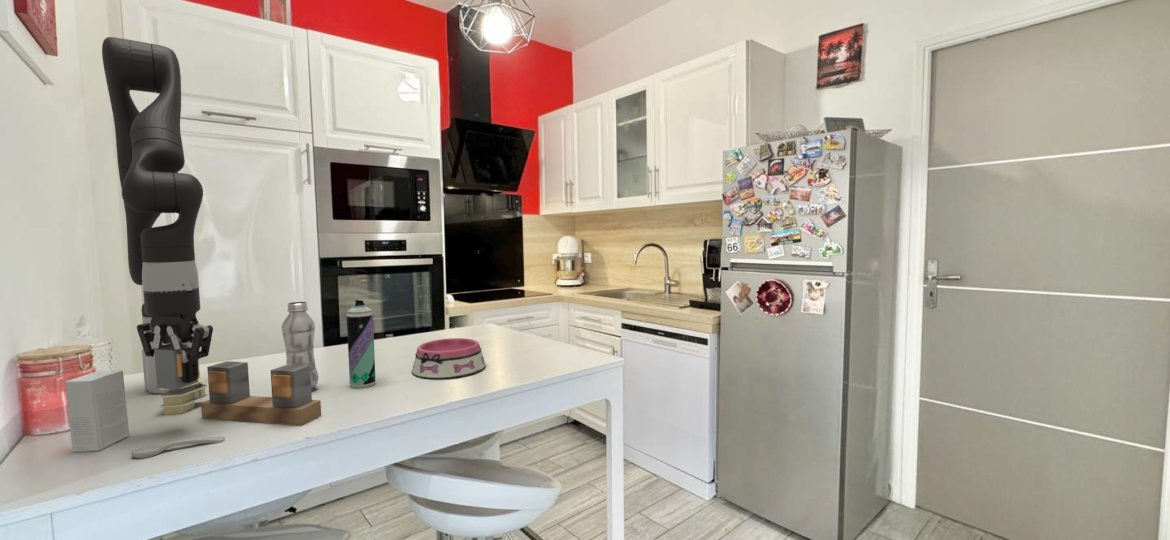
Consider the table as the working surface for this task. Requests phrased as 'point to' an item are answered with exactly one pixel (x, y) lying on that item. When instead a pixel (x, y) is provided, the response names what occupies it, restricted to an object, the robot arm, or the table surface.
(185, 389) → the stacked layers on plate
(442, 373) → the dog bowl
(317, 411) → the rail
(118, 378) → the skincare box
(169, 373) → the grey block
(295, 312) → the plastic bottle
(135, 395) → the table surface
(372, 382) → the spray can
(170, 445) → the spoon
